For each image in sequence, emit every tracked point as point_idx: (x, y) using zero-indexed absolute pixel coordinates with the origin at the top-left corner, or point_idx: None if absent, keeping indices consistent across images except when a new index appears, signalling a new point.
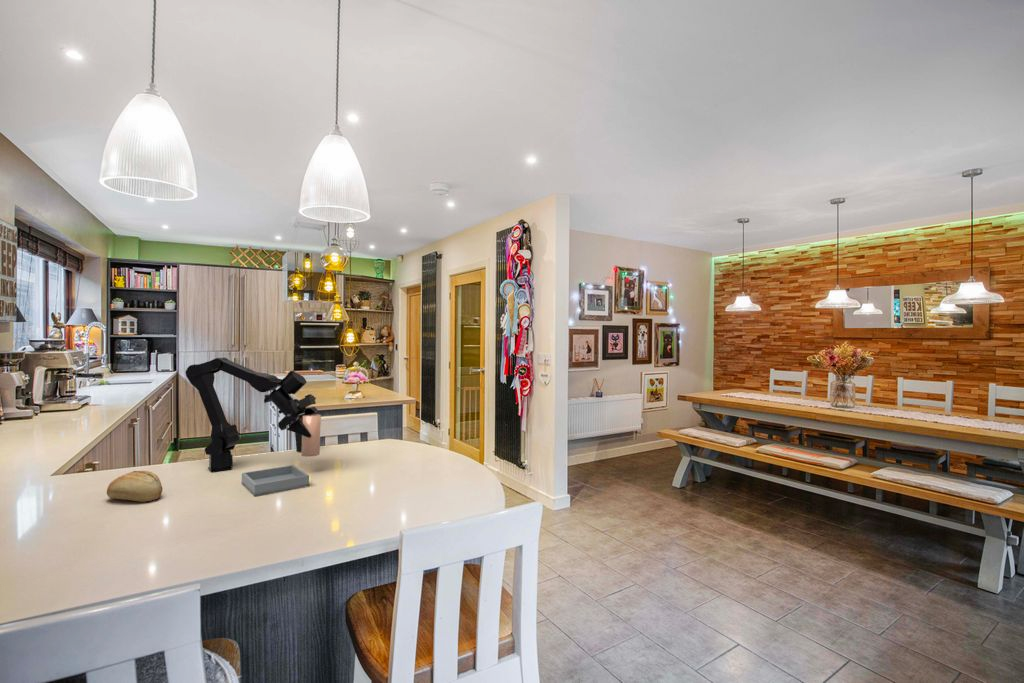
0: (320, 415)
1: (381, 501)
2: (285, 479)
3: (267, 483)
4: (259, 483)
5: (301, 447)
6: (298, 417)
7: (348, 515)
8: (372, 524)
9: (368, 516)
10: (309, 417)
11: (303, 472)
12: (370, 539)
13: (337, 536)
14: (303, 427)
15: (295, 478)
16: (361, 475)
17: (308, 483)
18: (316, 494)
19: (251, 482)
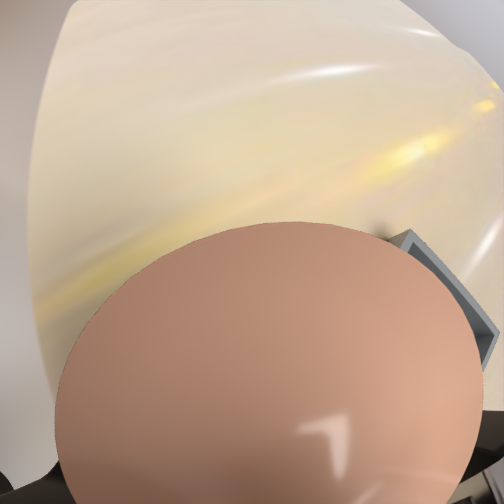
0: (200, 247)
1: (395, 51)
2: (459, 282)
3: (484, 313)
4: (492, 330)
5: (3, 490)
6: (499, 485)
7: (461, 93)
8: (459, 64)
9: (448, 68)
10: (474, 368)
11: None
12: (480, 67)
13: (497, 99)
14: None
15: (440, 260)
16: (231, 122)
17: (395, 237)
18: (429, 181)
19: (486, 363)
